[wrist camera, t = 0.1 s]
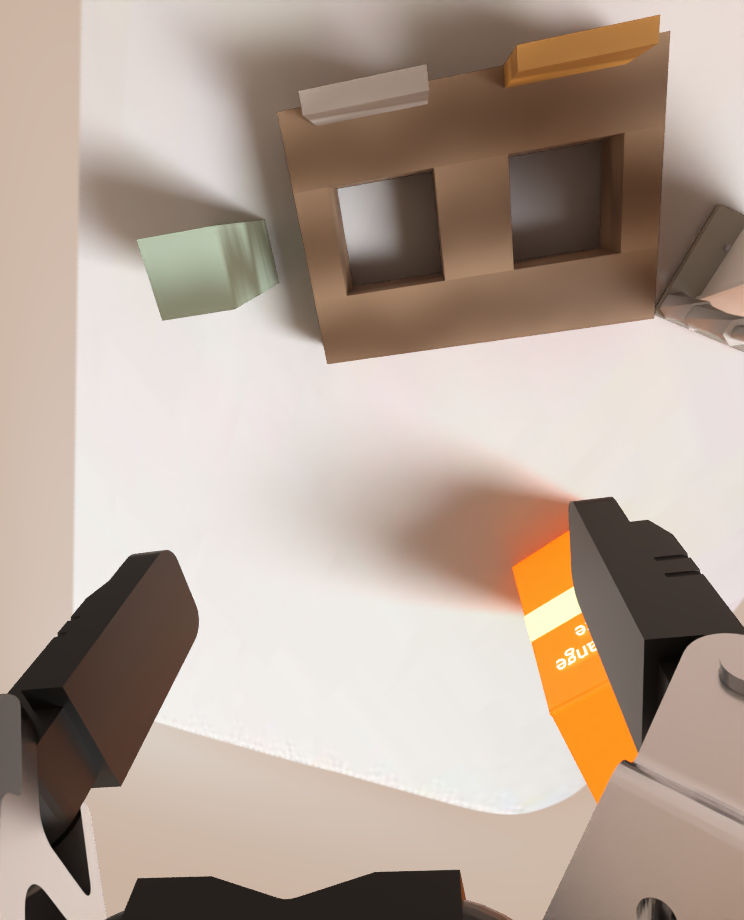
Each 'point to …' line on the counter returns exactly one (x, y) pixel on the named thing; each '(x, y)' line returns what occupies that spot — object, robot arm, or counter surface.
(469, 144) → the socket block
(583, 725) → the orange juice
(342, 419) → the counter surface
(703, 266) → the skyscraper
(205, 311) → the green plug
